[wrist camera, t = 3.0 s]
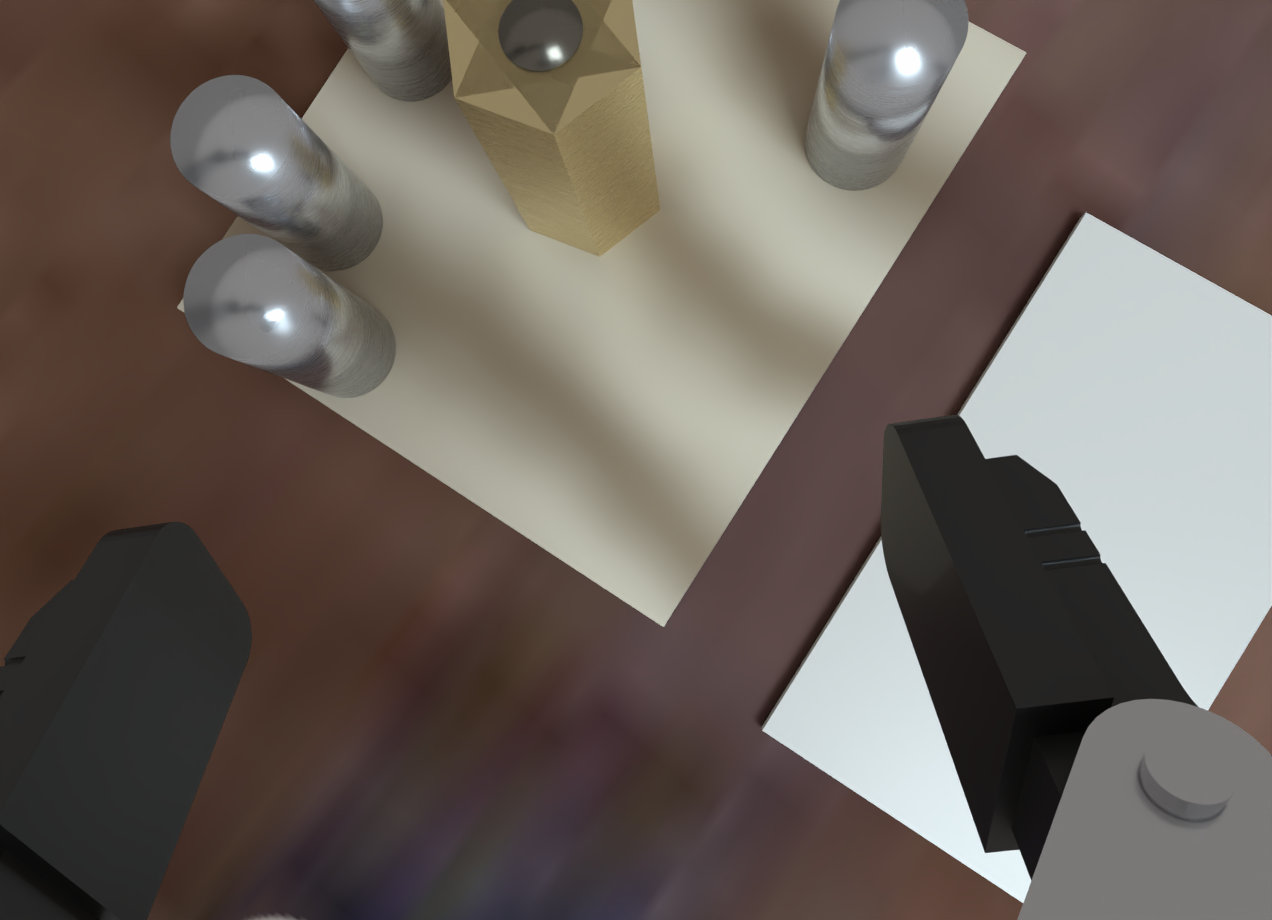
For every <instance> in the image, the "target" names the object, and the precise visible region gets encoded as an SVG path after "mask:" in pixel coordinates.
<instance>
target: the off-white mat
mask: <svg viewBox="0 0 1272 920" xmlns="http://www.w3.org/2000/svg"><path fill="white" fill-rule="evenodd" d="M957 415H959V416H960V417H962V419H963V420H964V421H965V423H966V424H967V426H968V428H969V430H970V432H971V433H972V435H973V437H974V439H975V441H976V443H977V444H978V446H979V448H980V450H981V452H982V454H983V456H984V457H985V459H989V458H996V457H1003V456H1011V455H1018V456H1019V457H1020V458H1022V459H1023V460H1025V461H1026V462H1027V463H1029V464H1030V465H1031V466H1033V467H1034V468H1035V469H1037V470H1038V471H1039V472H1041V473H1042V474H1043V475H1045V476H1046V477H1048V478H1049V479H1050V480H1052V481H1053V482H1054V483H1056V484H1057V485H1058V487H1059V488H1060V490H1061V492H1062V493H1063V495H1064V497H1065V498H1066V500H1067V501H1068V503H1069V505H1070V506H1071V508H1072V509H1073V511H1074V513H1075V514H1076V516H1077V517H1078V519H1079V521H1080V522H1081V529H1082V531H1084V530H1086V532H1087V534H1088V535H1089V537H1090V538H1091V540H1092V542H1093V543H1094V545H1095V546H1096V548H1097V550H1098V551H1099V553H1100V558H1101V562H1102V563H1106V564H1107V566H1108V567H1109V569H1110V571H1111V572H1112V574H1113V576H1114V577H1115V579H1116V580H1117V582H1118V584H1119V585H1120V587H1121V588H1122V590H1123V592H1124V593H1125V595H1126V596H1127V598H1128V600H1129V601H1130V603H1131V605H1132V606H1133V608H1134V609H1135V611H1136V613H1137V614H1138V616H1139V617H1140V619H1141V621H1142V622H1143V624H1144V625H1145V627H1146V629H1147V630H1148V632H1149V634H1150V635H1151V637H1152V638H1153V640H1154V642H1155V643H1156V645H1157V646H1158V648H1159V650H1160V651H1161V653H1162V654H1163V656H1164V658H1165V659H1166V661H1167V663H1168V664H1169V666H1170V667H1171V669H1172V671H1173V672H1174V674H1175V675H1176V677H1177V679H1178V680H1179V682H1180V683H1181V685H1182V687H1183V688H1184V689H1185V691H1186V692H1187V694H1188V695H1189V696H1190V698H1191V699H1192V700H1193V701H1194V702H1195V703H1196V704H1197V706H1198V707H1199V708H1203V709H1205V710H1207V711H1208V709H1209V708H1210V706H1211V704H1212V703H1213V701H1214V699H1215V698H1216V696H1217V694H1218V693H1219V691H1220V690H1221V688H1222V686H1223V685H1224V683H1225V681H1226V680H1227V678H1228V676H1229V675H1230V673H1231V671H1232V670H1233V668H1234V666H1235V665H1236V663H1237V662H1238V660H1239V658H1240V657H1241V655H1242V653H1243V652H1244V650H1245V648H1246V647H1247V645H1248V643H1249V642H1250V640H1251V639H1252V637H1253V635H1254V634H1255V632H1256V630H1257V629H1258V627H1259V625H1260V624H1261V622H1262V620H1263V619H1264V617H1265V615H1266V614H1267V612H1268V611H1269V609H1270V607H1271V606H1272V316H1271V315H1269V314H1268V313H1266V312H1264V311H1262V310H1260V309H1259V308H1257V307H1255V306H1253V305H1252V304H1250V303H1248V302H1246V301H1244V300H1243V299H1241V298H1239V297H1237V296H1235V295H1234V294H1232V293H1230V292H1228V291H1226V290H1225V289H1223V288H1221V287H1219V286H1217V285H1216V284H1214V283H1212V282H1210V281H1208V280H1207V279H1205V278H1203V277H1201V276H1199V275H1198V274H1196V273H1194V272H1192V271H1190V270H1189V269H1187V268H1185V267H1183V266H1181V265H1180V264H1178V263H1176V262H1174V261H1172V260H1171V259H1169V258H1167V257H1165V256H1163V255H1162V254H1160V253H1158V252H1156V251H1154V250H1153V249H1151V248H1149V247H1147V246H1145V245H1144V244H1142V243H1140V242H1138V241H1136V240H1135V239H1133V238H1131V237H1129V236H1127V235H1126V234H1124V233H1122V232H1120V231H1118V230H1117V229H1115V228H1113V227H1111V226H1109V225H1108V224H1106V223H1104V222H1102V221H1100V220H1099V219H1097V218H1095V217H1093V216H1092V215H1090V214H1088V213H1085V214H1084V215H1083V216H1082V217H1080V219H1079V220H1078V222H1077V224H1076V225H1075V227H1074V228H1073V230H1072V232H1071V233H1070V235H1069V236H1068V238H1067V240H1066V241H1065V243H1064V244H1063V246H1062V248H1061V249H1060V251H1059V252H1058V254H1057V256H1056V257H1055V259H1054V260H1053V262H1052V264H1051V265H1050V267H1049V268H1048V270H1047V272H1046V273H1045V275H1044V276H1043V278H1042V280H1041V281H1040V283H1039V284H1038V286H1037V288H1036V289H1035V291H1034V292H1033V294H1032V296H1031V297H1030V299H1029V300H1028V302H1027V304H1026V305H1025V307H1024V308H1023V310H1022V312H1021V313H1020V315H1019V316H1018V318H1017V320H1016V321H1015V323H1014V324H1013V326H1012V328H1011V329H1010V331H1009V332H1008V334H1007V336H1006V337H1005V339H1004V340H1003V342H1002V344H1001V345H1000V347H999V348H998V350H997V351H996V353H995V355H994V356H993V358H992V359H991V361H990V363H989V364H988V366H987V367H986V369H985V371H984V372H983V374H982V375H981V377H980V379H979V380H978V382H977V383H976V385H975V387H974V388H973V390H972V391H971V393H970V395H969V396H968V398H967V399H966V401H965V403H964V404H963V406H962V407H961V409H960V411H959V412H958V414H957ZM761 728H762V731H764V732H765V733H767V734H768V735H770V736H771V737H773V738H774V739H776V740H777V741H779V742H780V743H782V744H784V745H785V746H787V747H788V748H790V749H791V750H793V751H794V752H796V753H797V754H799V755H800V756H802V757H803V758H805V759H806V760H808V761H809V762H811V763H812V764H814V765H815V766H817V767H818V768H820V769H821V770H823V771H824V772H826V773H827V774H829V775H830V776H832V777H833V778H835V779H836V780H838V781H839V782H841V783H842V784H844V785H845V786H847V787H848V788H850V789H852V790H853V791H855V792H856V793H858V794H859V795H861V796H862V797H864V798H865V799H867V800H868V801H870V802H871V803H873V804H874V805H876V806H877V807H879V808H880V809H882V810H883V811H885V812H886V813H888V814H889V815H891V816H892V817H894V818H895V819H897V820H898V821H900V822H901V823H903V824H904V825H906V826H907V827H909V828H910V829H912V830H913V831H915V832H916V833H918V834H920V835H921V836H923V837H924V838H926V839H927V840H929V841H930V842H932V843H933V844H935V845H936V846H938V847H939V848H941V849H942V850H944V851H945V852H947V853H948V854H950V855H951V856H953V857H954V858H956V859H957V860H959V861H960V862H962V863H963V864H965V865H966V866H968V867H969V868H971V869H972V870H974V871H975V872H977V873H978V874H980V875H981V876H983V877H984V878H986V879H988V880H989V881H991V882H992V883H994V884H995V885H997V886H998V887H1000V888H1001V889H1003V890H1004V891H1006V892H1007V893H1009V894H1010V895H1012V896H1013V897H1015V898H1016V899H1018V900H1019V901H1021V902H1022V903H1024V900H1025V897H1026V895H1027V892H1028V889H1029V886H1030V883H1031V879H1030V876H1029V874H1028V871H1027V868H1026V866H1025V863H1024V860H1023V858H1022V855H1021V852H1020V850H1011V851H1002V852H992V853H985V852H984V849H983V846H982V843H981V840H980V838H979V835H978V832H977V829H976V826H975V823H974V820H973V817H972V815H971V812H970V809H969V806H968V803H967V800H966V797H965V794H964V792H963V789H962V786H961V783H960V780H959V777H958V774H957V771H956V769H955V766H954V763H953V760H952V757H951V754H950V751H949V748H948V746H947V743H946V740H945V737H944V734H943V731H942V728H941V725H940V723H939V720H938V717H937V714H936V711H935V708H934V705H933V702H932V700H931V697H930V694H929V691H928V688H927V685H926V682H925V679H924V677H923V674H922V671H921V668H920V665H919V662H918V659H917V656H916V654H915V651H914V648H913V645H912V642H911V639H910V636H909V633H908V631H907V628H906V625H905V622H904V619H903V616H902V613H901V610H900V608H899V605H898V602H897V599H896V596H895V593H894V590H893V587H892V585H891V582H890V579H889V575H888V572H887V568H886V564H885V559H884V553H883V547H882V538H881V537H880V538H879V540H878V542H877V543H876V545H875V546H874V548H873V550H872V551H871V553H870V554H869V556H868V558H867V559H866V561H865V562H864V564H863V566H862V567H861V569H860V570H859V572H858V574H857V575H856V577H855V578H854V580H853V582H852V583H851V585H850V586H849V588H848V590H847V591H846V593H845V594H844V596H843V598H842V599H841V601H840V602H839V604H838V606H837V607H836V609H835V610H834V612H833V614H832V615H831V617H830V618H829V620H828V622H827V623H826V625H825V626H824V628H823V630H822V631H821V633H820V634H819V636H818V638H817V639H816V641H815V642H814V644H813V646H812V647H811V649H810V650H809V652H808V654H807V655H806V657H805V658H804V660H803V662H802V663H801V665H800V666H799V668H798V670H797V671H796V673H795V674H794V676H793V678H792V679H791V681H790V682H789V684H788V686H787V687H786V689H785V690H784V692H783V694H782V695H781V697H780V698H779V700H778V702H777V703H776V705H775V706H774V708H773V710H772V711H771V713H770V714H769V716H768V718H767V719H766V721H765V722H764V724H763V726H762V727H761Z"/></svg>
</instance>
